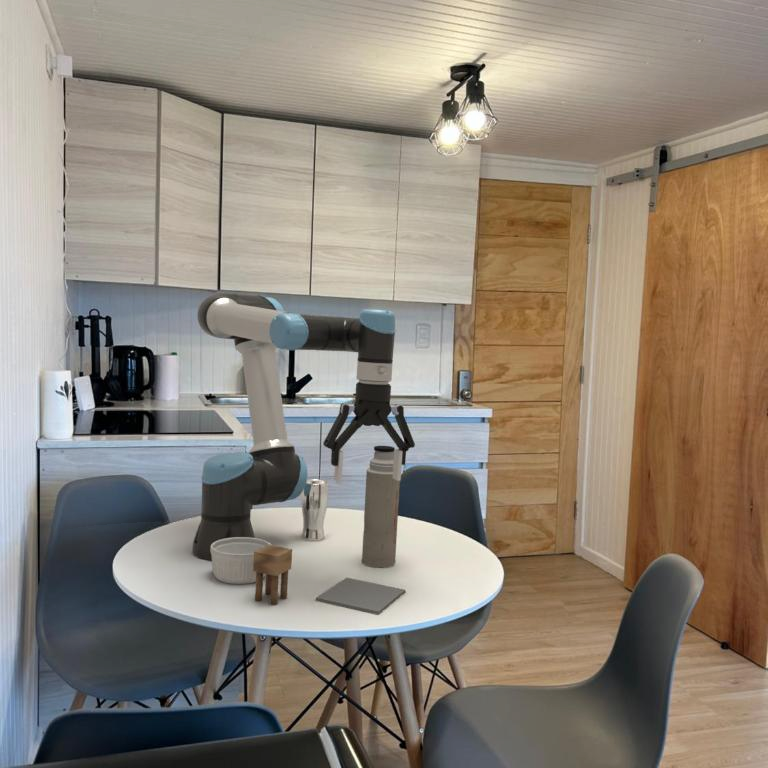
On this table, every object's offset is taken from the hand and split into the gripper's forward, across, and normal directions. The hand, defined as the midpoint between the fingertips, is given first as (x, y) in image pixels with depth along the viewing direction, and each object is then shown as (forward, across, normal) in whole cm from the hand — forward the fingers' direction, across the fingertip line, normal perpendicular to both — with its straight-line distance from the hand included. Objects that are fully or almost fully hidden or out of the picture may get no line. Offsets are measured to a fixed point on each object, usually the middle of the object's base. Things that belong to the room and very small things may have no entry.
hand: (367, 480), depth 154 cm
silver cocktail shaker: (+24, 0, +35) cm, 42 cm away
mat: (+23, -3, -7) cm, 24 cm away
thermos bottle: (+23, +9, +12) cm, 28 cm away
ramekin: (+23, -24, +11) cm, 35 cm away
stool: (+23, -21, -4) cm, 31 cm away
